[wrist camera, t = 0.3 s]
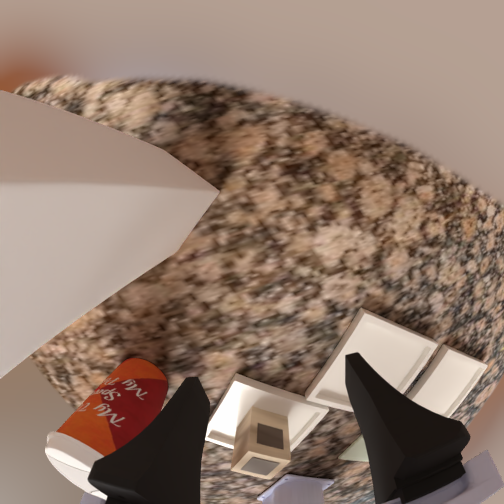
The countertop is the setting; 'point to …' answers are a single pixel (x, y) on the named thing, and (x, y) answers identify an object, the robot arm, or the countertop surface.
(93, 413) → the paper cup
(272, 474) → the letter block
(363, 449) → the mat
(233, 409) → the dish
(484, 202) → the countertop surface
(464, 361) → the dish
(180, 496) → the robot arm
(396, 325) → the dish
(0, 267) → the milk
